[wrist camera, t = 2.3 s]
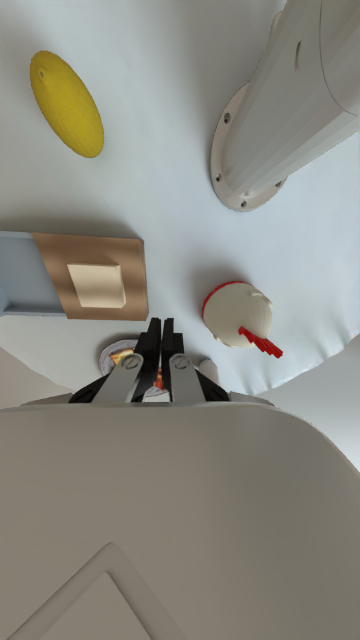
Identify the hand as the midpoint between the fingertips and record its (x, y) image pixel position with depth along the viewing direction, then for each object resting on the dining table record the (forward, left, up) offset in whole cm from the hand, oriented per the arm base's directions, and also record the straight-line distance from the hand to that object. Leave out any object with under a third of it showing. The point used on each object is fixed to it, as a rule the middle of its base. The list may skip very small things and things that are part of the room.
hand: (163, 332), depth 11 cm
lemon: (-19, -11, -19) cm, 29 cm away
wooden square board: (0, -13, -19) cm, 23 cm away
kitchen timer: (+6, +15, -19) cm, 25 cm away
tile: (0, -12, -15) cm, 19 cm away
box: (0, -28, -19) cm, 34 cm away
